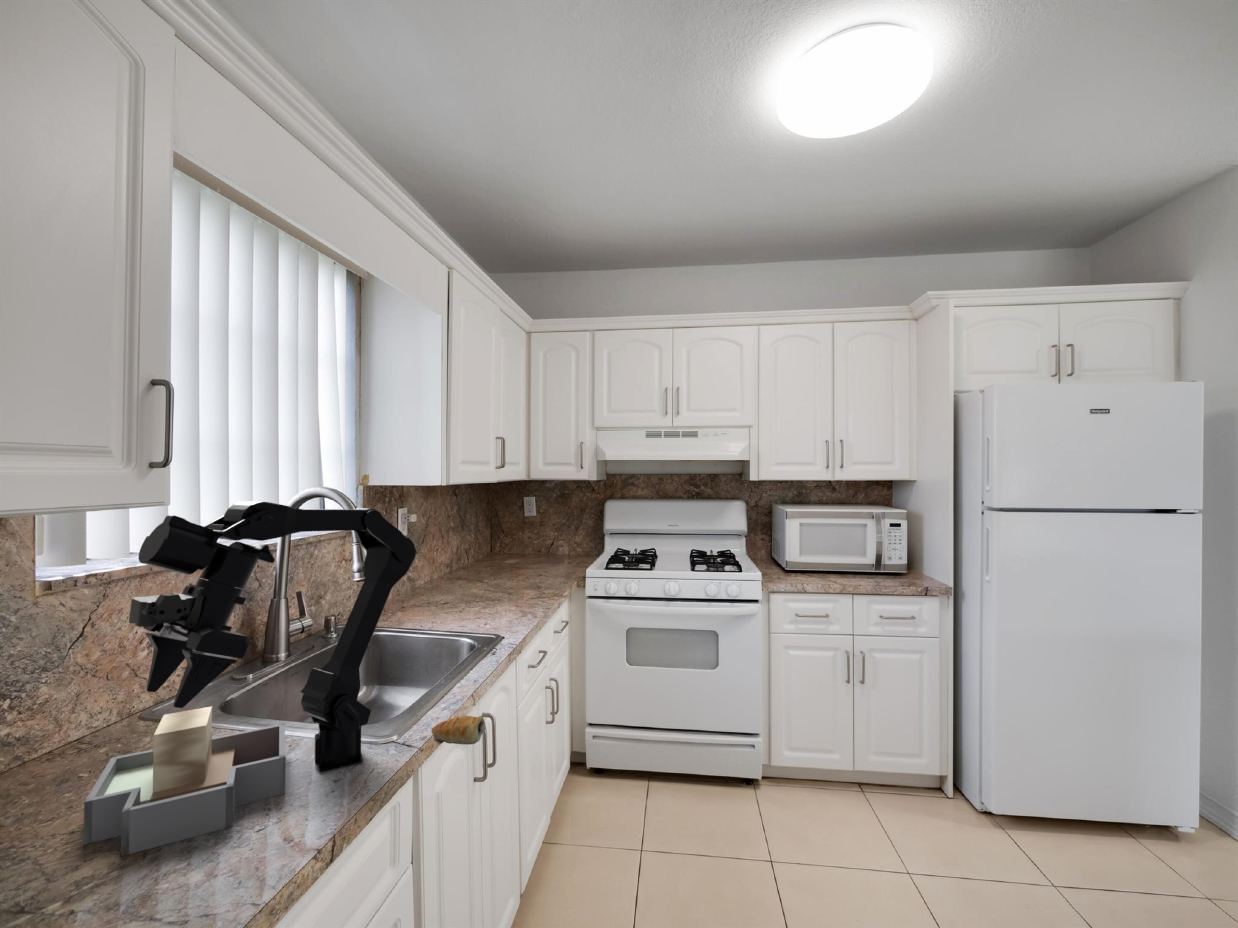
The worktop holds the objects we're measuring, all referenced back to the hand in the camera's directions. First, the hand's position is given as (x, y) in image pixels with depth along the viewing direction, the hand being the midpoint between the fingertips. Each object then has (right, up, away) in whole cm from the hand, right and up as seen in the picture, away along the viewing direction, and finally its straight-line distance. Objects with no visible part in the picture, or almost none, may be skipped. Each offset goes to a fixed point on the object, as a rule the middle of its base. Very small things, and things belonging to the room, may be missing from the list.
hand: (163, 699), depth 74 cm
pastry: (+31, -20, +29) cm, 47 cm away
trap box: (-2, -19, +8) cm, 20 cm away
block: (-5, -15, +9) cm, 19 cm away
